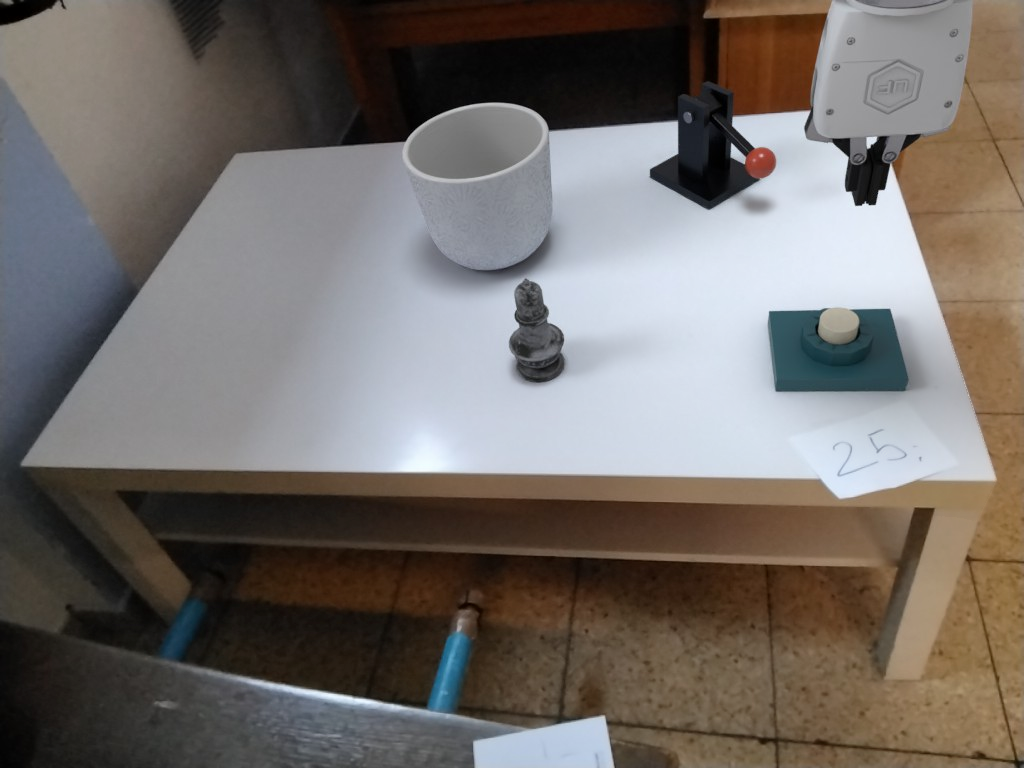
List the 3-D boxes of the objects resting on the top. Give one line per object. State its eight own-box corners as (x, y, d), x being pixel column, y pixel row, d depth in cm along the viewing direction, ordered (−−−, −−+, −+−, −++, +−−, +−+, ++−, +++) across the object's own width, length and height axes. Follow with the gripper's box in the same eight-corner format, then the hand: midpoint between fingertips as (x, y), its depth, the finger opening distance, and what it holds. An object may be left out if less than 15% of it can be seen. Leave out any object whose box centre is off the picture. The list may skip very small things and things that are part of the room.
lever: (775, 176, 100) (787, 156, 97) (754, 189, 99) (765, 169, 95) (704, 105, 104) (713, 84, 101) (683, 116, 103) (691, 95, 99)
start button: (853, 319, 82) (856, 306, 81) (859, 344, 80) (862, 331, 79) (815, 320, 83) (818, 307, 82) (820, 345, 81) (822, 332, 80)
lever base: (760, 179, 106) (766, 94, 98) (708, 210, 103) (711, 124, 95) (699, 149, 113) (700, 66, 105) (649, 177, 110) (647, 94, 102)
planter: (427, 221, 111) (400, 117, 100) (551, 197, 110) (537, 90, 100) (433, 301, 99) (403, 194, 88) (572, 275, 99) (559, 163, 88)
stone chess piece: (569, 344, 91) (557, 257, 82) (566, 383, 87) (553, 296, 78) (516, 346, 92) (499, 261, 83) (510, 385, 88) (492, 299, 79)
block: (887, 320, 86) (893, 294, 84) (905, 391, 79) (913, 365, 77) (767, 322, 88) (770, 297, 86) (775, 391, 82) (778, 366, 79)
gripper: (796, 5, 56) (774, 226, 69) (1040, -17, 53) (968, 219, 66) (786, -38, 61) (767, 176, 74) (1008, -60, 58) (947, 167, 71)
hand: (862, 196), depth 70 cm, fingers closed
